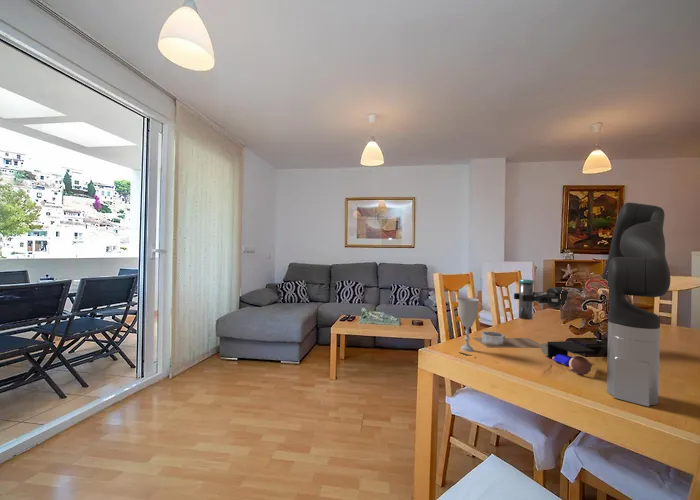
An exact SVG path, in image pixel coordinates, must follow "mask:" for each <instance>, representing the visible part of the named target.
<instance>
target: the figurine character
mask: <svg viewBox="0 0 700 500" xmlns="http://www.w3.org/2000/svg"><path fill="white" fill-rule="evenodd" d="M541 344H542V345H541V348H540V349H541V352H542V354H544V355H545V356H547V358H548V359H552V360H553V361H554V362H556V363H559V364H562V365H565V366H568V367H569V369H570V370H571V371H572V372H573V373H575V374H576V375H580V376H581V375H582V376H584V375H588V374H589V373H590V372H591V369H592V364H591V362H590V361H589V359H587V358H586V357H583V356H580V355H578V356H577V354H596V350H594V349H591V348H588V347H584V346H582V345H578V344H575V343H572V342H569V341H566V340H565V341H563V340H561V341H547V342H546V343H545V342H543V343H541ZM569 353H572V354H576V355H575V356H570V355H568V354H569Z"/></svg>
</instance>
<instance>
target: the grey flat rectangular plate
mask: <svg viewBox="0 0 700 500" xmlns="http://www.w3.org/2000/svg"><path fill="white" fill-rule="evenodd" d="M472 339H473V340H475V341H477V342H478V343H480V344H481V345H482V346H484V347H486V348H490V349H491V348H499V349H500V348H502V349H503V348H505V349H506V348H511V349H513V348H514V349H515V348H516V349H517V348H518V349H520V348H521V349H526V348H527V349H533V348H534V349H541V345H542V344H543V343H539V342H537V341H535V340H532V339H530V338H528V337H505V344H504V345H501V346H496V345H489V344H485V343H483V342H482V341H481V337H472Z"/></svg>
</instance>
